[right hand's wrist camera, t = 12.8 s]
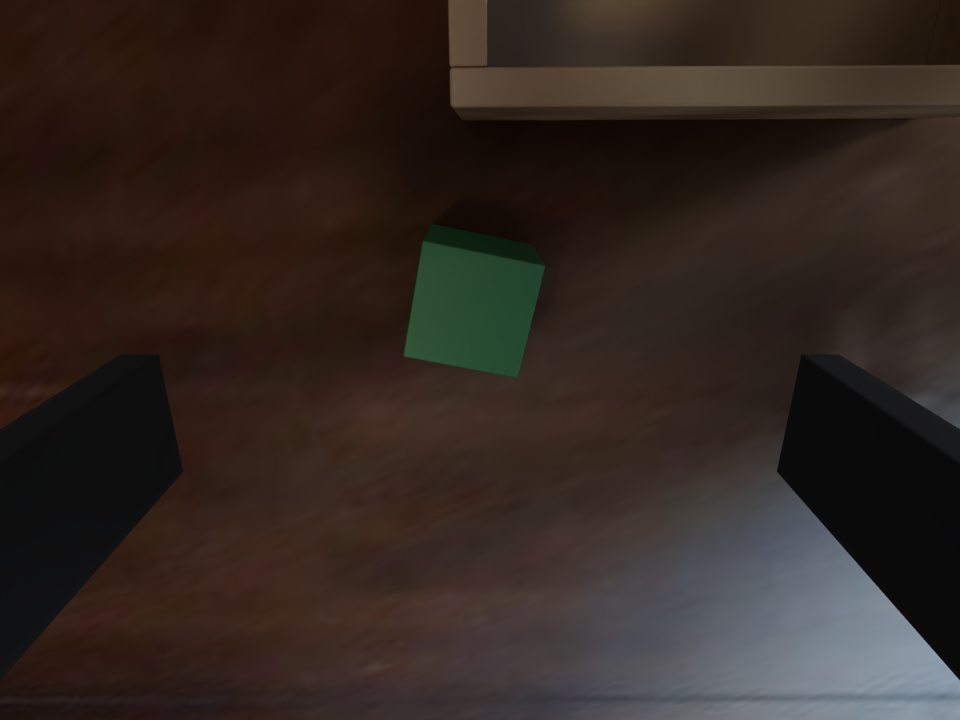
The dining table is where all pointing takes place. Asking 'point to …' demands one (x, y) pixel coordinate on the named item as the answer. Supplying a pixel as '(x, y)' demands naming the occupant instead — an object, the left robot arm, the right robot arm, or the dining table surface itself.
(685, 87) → the chest
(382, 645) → the dining table surface
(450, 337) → the block
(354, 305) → the dining table surface
